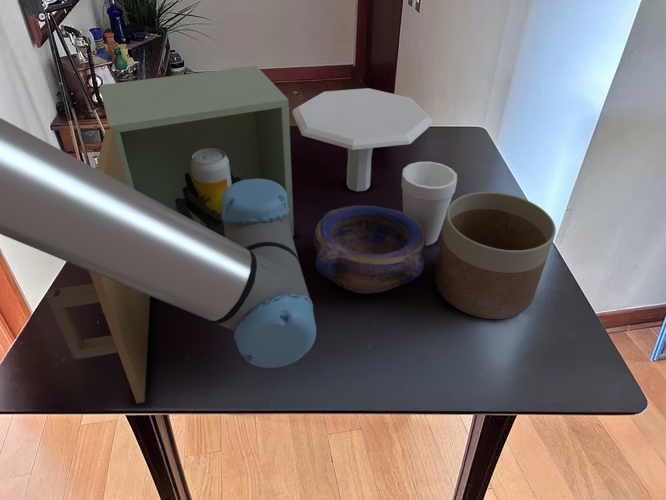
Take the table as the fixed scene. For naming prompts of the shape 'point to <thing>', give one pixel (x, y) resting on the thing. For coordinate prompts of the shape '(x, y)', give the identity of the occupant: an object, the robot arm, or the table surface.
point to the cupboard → (200, 129)
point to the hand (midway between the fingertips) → (207, 176)
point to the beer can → (210, 177)
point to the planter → (493, 254)
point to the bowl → (369, 248)
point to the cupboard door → (109, 303)
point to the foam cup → (428, 195)
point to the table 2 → (361, 125)
